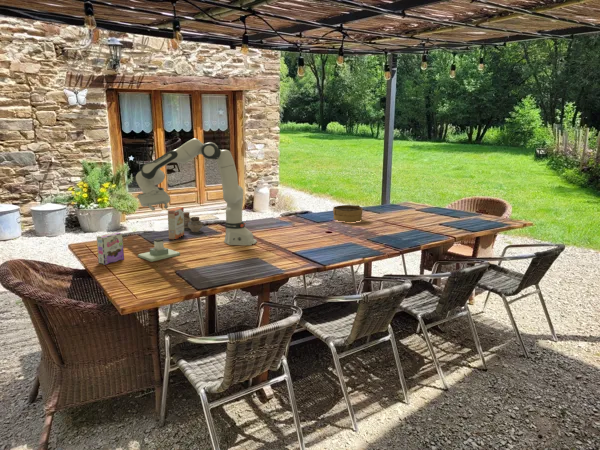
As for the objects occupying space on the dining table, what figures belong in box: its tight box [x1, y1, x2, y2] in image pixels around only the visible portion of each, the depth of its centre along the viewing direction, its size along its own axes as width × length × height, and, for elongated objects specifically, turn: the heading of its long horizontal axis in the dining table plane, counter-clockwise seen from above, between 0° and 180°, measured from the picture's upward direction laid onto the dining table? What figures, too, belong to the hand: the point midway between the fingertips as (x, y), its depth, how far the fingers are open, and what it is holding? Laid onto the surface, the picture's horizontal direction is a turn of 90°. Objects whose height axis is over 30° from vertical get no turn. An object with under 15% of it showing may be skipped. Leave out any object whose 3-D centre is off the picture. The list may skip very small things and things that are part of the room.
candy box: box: [96, 231, 125, 266], centre depth 276 cm, size 14×6×16 cm, turn 148°
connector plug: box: [153, 238, 165, 251], centre depth 289 cm, size 4×4×9 cm
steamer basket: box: [332, 205, 363, 222], centre depth 398 cm, size 25×25×11 cm
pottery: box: [184, 211, 204, 233], centre depth 358 cm, size 11×25×12 cm, turn 40°
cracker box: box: [167, 206, 185, 240], centre depth 333 cm, size 14×6×21 cm, turn 168°
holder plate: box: [137, 247, 181, 263], centre depth 289 cm, size 20×15×4 cm
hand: (160, 208), depth 303 cm, fingers open, 8 cm apart
